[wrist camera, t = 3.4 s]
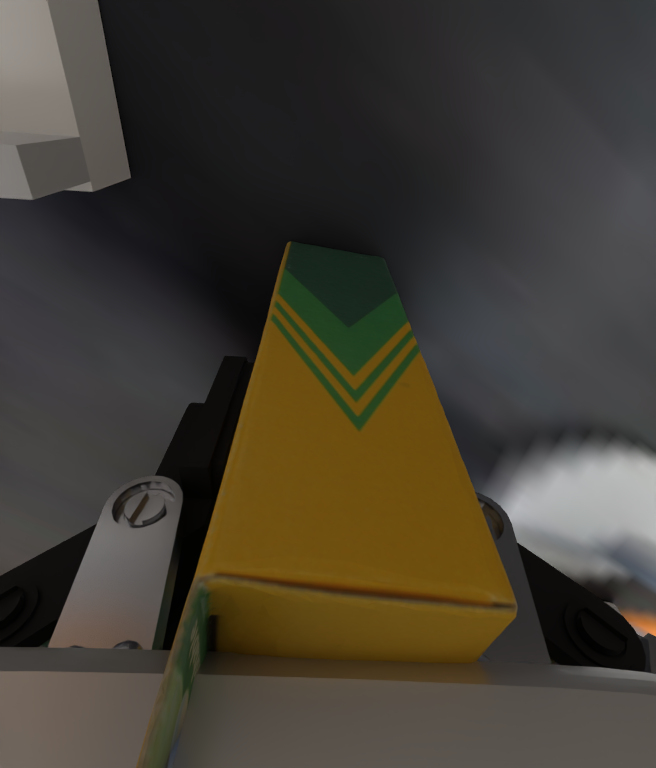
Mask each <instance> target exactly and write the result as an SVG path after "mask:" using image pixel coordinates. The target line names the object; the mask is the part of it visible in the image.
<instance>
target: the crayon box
mask: <svg viewBox="0 0 656 768" xmlns="http://www.w3.org/2000/svg"><path fill="white" fill-rule="evenodd" d="M517 608H518V606H517V603H516V599H515V596H514V593H513V590H512V587H511V585H510V582H509V580H508V577H507V574H506V572H505V569H504V567H503V564H502V561H501V559H500V556H499V554H498V551H497V548H496V546H495V543H494V540H493V538H492V535H491V533H490V530H489V527H488V525H487V522H486V519H485V517H484V514H483V512H482V509H481V506H480V504H479V501H478V499H477V496H476V493H475V491H474V488H473V486H472V483H471V480H470V478H469V475H468V472H467V470H466V467H465V465H464V462H463V460H462V458H461V456H460V453H459V450H458V447H457V445H456V442H455V439H454V437H453V434H452V431H451V428H450V426H449V423H448V421H447V419H446V416H445V413H444V410H443V407H442V406H441V404H440V401H439V398H438V395H437V392H436V389H435V387H434V384H433V382H432V379H431V377H430V374H429V372H428V369H427V366H426V364H425V362H424V360H423V357H422V355H421V353H420V350H419V347H418V344H417V342H416V339H415V337H414V334H413V331H412V329H411V326H410V323H409V321H408V319H407V316H406V313H405V311H404V308H403V305H402V303H401V300H400V297H399V295H398V292H397V289H396V287H395V284H394V282H393V279H392V277H391V275H390V272H389V270H388V267H387V264H386V262H385V259H384V258H381V257H379V256H370V255H363V254H358V253H353V252H348V251H342V250H335V249H331V248H325V247H320V246H315V245H309V244H302V243H298V242H288V243H287V245H286V248H285V252H284V255H283V258H282V262H281V265H280V269H279V272H278V276H277V280H276V284H275V288H274V292H273V295H272V299H271V304H270V308H269V312H268V317H267V321H266V324H265V327H264V331H263V335H262V339H261V343H260V346H259V350H258V354H257V357H256V361H255V364H254V367H253V371H252V374H251V378H250V381H249V385H248V388H247V392H246V395H245V398H244V402H243V406H242V409H241V413H240V417H239V421H238V424H237V428H236V432H235V435H234V439H233V443H232V446H231V450H230V454H229V457H228V461H227V465H226V468H225V472H224V475H223V479H222V483H221V486H220V490H219V493H218V497H217V500H216V504H215V507H214V511H213V514H212V518H211V521H210V525H209V528H208V532H207V535H206V538H205V542H204V545H203V548H202V552H201V555H200V558H199V562H198V566H197V569H196V573H195V576H194V579H193V582H192V585H191V588H190V591H189V594H188V596H187V599H186V603H185V606H184V609H183V613H182V616H181V619H180V623H179V626H178V629H177V632H176V636H175V639H174V642H173V646H172V649H171V652H170V655H169V658H168V662H167V665H166V668H165V671H164V674H163V678H162V681H161V684H160V687H159V691H158V694H157V697H156V700H155V703H154V707H153V710H152V713H151V717H150V720H149V724H148V727H147V731H146V734H145V738H144V741H143V745H142V748H141V752H140V755H139V759H138V762H137V766H136V768H172V767H173V763H174V759H175V755H176V751H177V747H178V743H179V739H180V735H181V731H182V727H183V723H184V719H185V715H186V711H187V707H188V703H189V699H190V695H191V691H192V686H193V682H194V679H195V675H196V673H197V671H198V669H199V668H200V666H201V664H202V663H203V661H204V659H205V656H206V654H207V652H232V653H237V654H246V655H265V656H273V657H291V658H310V659H331V660H361V661H393V662H420V663H473V662H475V661H477V660H478V659H479V657H480V656H481V655H482V654H483V653H484V652H485V650H486V649H487V648H488V647H489V646H490V644H491V643H492V642H493V641H494V640H495V639H496V638H497V637H498V636H499V635H500V634H501V633H502V632H503V630H504V629H505V628H506V627H507V626H508V625H509V624H510V623H511V622H512V621H513V620H514V619H515V618H516V614H517Z"/></svg>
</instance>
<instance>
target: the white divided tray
mask: <svg viewBox="0 0 656 768" xmlns="http://www.w3.org/2000/svg"><path fill="white" fill-rule="evenodd" d="M129 178H131V175H130V170H129V164H128V159H127V154H126V148H125V143H124V138H123V132H122V127H121V122H120V117H119V111H118V106H117V101H116V95H115V90H114V85H113V79H112V74H111V69H110V63H109V58H108V53H107V48H106V42H105V37H104V32H103V26H102V21H101V16H100V10H99V5H98V0H0V198H13V199H28V200H34V199H37V198H40V197H44V196H47V195H50V194H53V193H56V192H59V191H62V190H73V191H88V192H94V191H97V190H99V189H102V188H105V187H108V186H110V185H113V184H116V183H119V182H121V181H124V180H127V179H129Z"/></svg>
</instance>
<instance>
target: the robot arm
mask: <svg viewBox="0 0 656 768" xmlns="http://www.w3.org/2000/svg"><path fill="white" fill-rule="evenodd" d="M253 367H254V363H248V361H247V358H246V357H235V356H225V357H224V359H223V361H222V363H221V366H220V368H219V370H218V373H217V375H216V378H215V380H214V382H213V385H212V387H211V390H210V392H209V394H208V397H207V399H206V401H205V403H191V404H189V406H188V407H187V409H186V411H185V413H184V415H183V417H182V420H181V422H180V424H179V426H178V428H177V430H176V432H175V434H174V437H173V439H172V441H171V443H170V445H169V447H168V449H167V451H166V453H165V456H164V458H163V460H162V462H161V464H160V466H159V468H158V470H157V473H156V475H155V476H146V477H140V478H138V479H135V480H132V481H129V482H128V483H126V484H124V485H123V486H121V487H119V488H118V489H117V490H116V491H115V492H114V493H113V494H112V495H111V496H110V497H109V499H108V500H107V502H106V504H105V505H104V508H103V510H102V513H101V515H100V518H99V520H98V523H97V524H96V525H94V526H92V527H90V528H88V529H86V530H85V531H83V532H81V533H79V534H77V535H75V536H73V537H72V538H70V539H68V540H66V541H64V542H62V543H60V544H59V545H57V546H55V547H53V548H51V549H49V550H47V551H46V552H44V553H42V554H40V555H38V556H36V557H34V558H33V559H31V560H29V561H27V562H25V563H23V564H22V565H20V566H18V567H16V568H14V569H12V570H10V571H9V572H7V573H5V574H3V575H1V576H0V768H136V766H137V762H138V759H139V755H140V752H141V748H142V745H143V741H144V738H145V734H146V731H147V727H148V724H149V720H150V717H151V713H152V710H153V707H154V703H155V700H156V697H157V694H158V691H159V687H160V684H161V681H162V678H163V674H164V671H165V668H166V665H167V662H168V658H169V655H170V652H171V649H172V646H173V642H174V639H175V636H176V632H177V629H178V626H179V623H180V619H181V616H182V613H183V609H184V606H185V603H186V599H187V596H188V594H189V591H190V588H191V585H192V582H193V579H194V576H195V573H196V569H197V566H198V562H199V558H200V555H201V552H202V548H203V545H204V542H205V538H206V535H207V532H208V528H209V525H210V521H211V518H212V514H213V511H214V507H215V504H216V500H217V497H218V493H219V490H220V486H221V483H222V479H223V475H224V472H225V468H226V465H227V461H228V457H229V454H230V450H231V446H232V443H233V439H234V435H235V432H236V428H237V424H238V421H239V417H240V413H241V409H242V406H243V402H244V398H245V395H246V392H247V388H248V385H249V381H250V378H251V374H252V371H253ZM475 493H476V496H477V499H478V501H479V504H480V506H481V509H482V512H483V514H484V517H485V519H486V522H487V525H488V527H489V530H490V533H491V535H492V538H493V540H494V543H495V546H496V548H497V551H498V554H499V556H500V559H501V561H502V564H503V567H504V569H505V572H506V574H507V577H508V580H509V582H510V585H511V587H512V590H513V593H514V596H515V599H516V603H517V606H518V608H517V614H516V618H515V619H514V620H513V621H512V622H511V623H510V624H509V625H508V626H507V627H506V628H505V629H504V630H503V632H502V633H501V634H500V635H499V636H498V637H497V638H496V639H495V640H494V641H493V642H492V643H491V644H490V646H489V647H488V648H487V649H486V650H485V652H484V653H483V654H482V655H481V656H480V657H479V659H478V660H477V661H475V662H473V663H420V662H393V661H361V660H331V659H310V658H291V657H273V656H265V655H246V654H237V653H232V652H207V654H206V656H205V659H204V661H203V663H202V664H201V666H200V668H199V669H198V671H197V673H196V675H195V679H194V682H193V686H192V691H191V695H190V699H189V703H188V707H187V711H186V715H185V719H184V723H183V727H182V731H181V735H180V739H179V743H178V747H177V751H176V755H175V759H174V763H173V767H172V768H656V637H655V636H653V635H651V634H649V633H648V634H646V635H645V636H644V637H642V636H640V635H638V634H637V633H636V632H635V630H634V629H633V627H632V626H631V625H630V624H629V623H628V622H627V620H626V619H625V618H624V617H623V616H622V615H621V614H619V613H618V612H617V611H616V610H615V609H613V608H612V607H611V606H610V605H608V604H607V603H605V602H604V601H602V600H601V599H599V598H598V597H596V596H595V595H593V594H592V593H591V592H589V591H588V590H586V589H585V588H583V587H582V586H580V585H579V584H577V583H576V582H574V581H573V580H571V579H570V578H568V577H567V576H566V575H564V574H563V573H561V572H560V571H558V570H557V569H555V568H554V567H552V566H551V565H549V564H548V563H546V562H545V561H544V560H542V559H541V558H539V557H538V556H536V555H535V554H533V553H532V552H530V551H529V550H527V549H526V548H524V547H523V546H522V545H520V544H519V543H517V541H516V538H515V534H514V531H513V527H512V524H511V522H510V519H509V517H508V515H507V514H506V512H505V511H504V510H503V509H502V508H501V506H500V505H498V504H497V503H496V502H494V501H493V500H492V499H490V498H488V497H486V496H484V495H482V494H480V493H477V492H475Z"/></svg>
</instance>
